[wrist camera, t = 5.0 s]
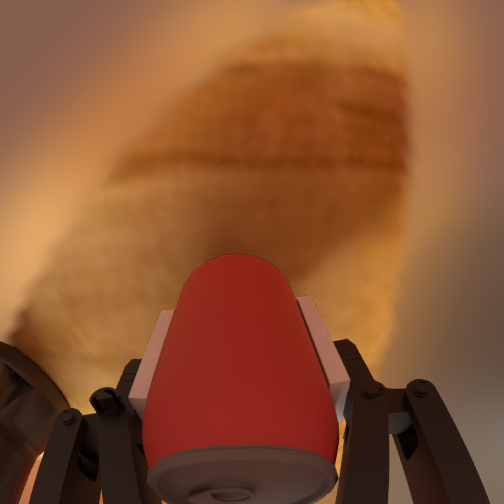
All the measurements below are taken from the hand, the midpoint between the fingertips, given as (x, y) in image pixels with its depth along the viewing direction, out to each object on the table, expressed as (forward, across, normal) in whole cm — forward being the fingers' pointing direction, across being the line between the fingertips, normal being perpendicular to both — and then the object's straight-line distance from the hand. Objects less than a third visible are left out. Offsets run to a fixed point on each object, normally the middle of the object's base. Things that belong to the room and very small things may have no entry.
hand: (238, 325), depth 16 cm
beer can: (+2, 0, 0) cm, 2 cm away
